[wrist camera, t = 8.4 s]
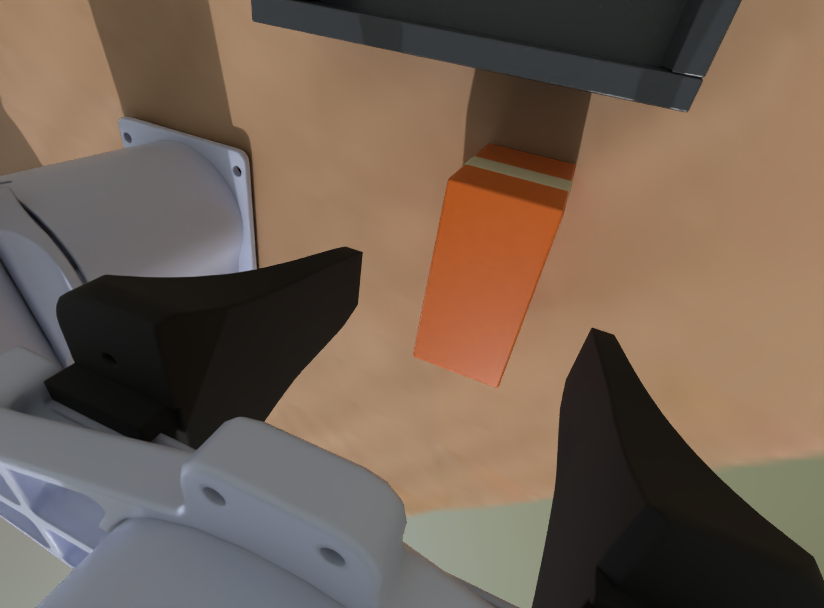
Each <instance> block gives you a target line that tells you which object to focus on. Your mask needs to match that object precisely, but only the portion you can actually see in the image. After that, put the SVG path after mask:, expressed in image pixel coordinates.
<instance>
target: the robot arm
mask: <svg viewBox="0 0 824 608" xmlns="http://www.w3.org/2000/svg"><path fill="white" fill-rule="evenodd" d="M119 128H120V133H121V137H122V141H123V146H124V148H123V149H119V150H114V151H110V152H106V153H101V154H97V155H92V156H88V157H83V158H79V159H74V160H70V161H65V162H61V163H56V164H52V165H47V166H43V167H38V168H34V169H29V170H25V171H20V172H16V173H11V174H7V175H2V176H0V517H1V518H3V519H4V520H6V521H7V522H9V523H10V524H11V525H13V526H14V527H16V528H17V529H18V530H20V531H21V532H23V533H25V534H26V535H27V536H28V537H30V538H31V539H33V540H34V541H35V542H37V543H38V544H39V545H41V546H42V547H43V548H45V549H46V550H48V551H49V552H50V553H52V554H53V555H55V556H56V557H57V558H59V559H60V560H62V561H63V562H64V563H66V564H67V565H69V566H70V567H71V568H72V569H74V570H73V571H72V572H71V573H70V574H69V575H68V576H67V577H66V578H65V579H64V580H63V581H62V582H61V583H60V584H59V585H58V586H57V587H56V588H55V589H54V590H53V591H52V592H51V593H50V594H49V595H48V596H47V597H46V598H45V599H44V600H43V601H42V602H41V603H40V604H39V605H38V606H37V607H36V608H519V607H517V606H514V605H513V604H510V603H508V602H506V601H504V600H502V599H500V598H498V597H496V596H494V595H492V594H490V593H488V592H486V591H484V590H482V589H480V588H478V587H476V586H474V585H471V584H470V583H467V582H465V581H463V580H461V579H459V578H457V577H455V576H453V575H451V574H449V573H447V572H445V571H443V570H442V569H440V568H439V567H438V566H436V565H435V564H434V563H432V562H431V561H429V560H428V559H427V558H425V557H424V556H422V555H421V554H419V553H418V552H417V551H415V550H414V549H413V548H411V547H410V546H408V545H407V544H406V543H404V542H403V541H402V539H403V534H404V530H405V526H406V523H407V521H406V515H405V509H404V504H403V502H402V500H401V498H400V497H399V496H398V495H397V494H396V492H395V491H394V490H393V489H392V487H391V486H390V485H389V484H388V482H387V481H385V480H384V479H382V478H381V477H379V476H377V475H376V474H374V473H373V472H371V471H370V470H368V469H367V468H365V467H363V466H361V465H358V464H356V463H354V462H352V461H349V460H347V459H345V458H343V457H341V456H338V455H336V454H334V453H332V452H330V451H327V450H325V449H323V448H321V447H318V446H316V445H314V444H312V443H310V442H307V441H305V440H303V439H301V438H299V437H296V436H294V435H292V434H290V433H287V432H285V431H283V430H281V429H279V428H276V427H274V426H272V425H270V424H267V423H265V422H264V421H265V420H266V418H267V417H268V416H269V414H270V413H271V411H272V410H273V408H274V407H275V405H276V404H277V403H278V401H279V400H280V399H281V397H282V396H283V394H284V393H285V392H286V390H287V389H288V388H289V386H290V385H291V384H292V382H293V381H294V380H295V379H296V377H297V376H298V375H299V374H300V373H301V371H302V370H303V369H304V368H305V367H306V366H307V365H308V364H309V363H310V362H311V361H312V360H313V359H314V357H315V356H316V355H317V354H318V353H319V352H320V351H321V350H322V349H323V348H324V347H325V346H326V345H327V344H328V342H329V341H330V340H331V339H332V338H333V337H334V336H335V335H336V334H337V333H338V332H339V330H340V329H341V328H342V327H343V326H344V324H345V323H346V321H347V320H348V319H349V317H350V316H351V314H352V313H353V311H354V310H355V308H356V306H357V305H358V297H359V286H360V276H361V265H362V254H363V252H360V251H357V250H354V249H351V248H348V247H341V248H336V249H333V250H329V251H325V252H322V253H318V254H315V255H311V256H308V257H304V258H301V259H297V260H294V261H290V262H286V263H282V264H277V265H273V266H269V267H265V268H260V269H257V264H256V250H255V236H254V221H253V207H252V192H251V178H250V164H249V158H248V156H247V154H246V153H245V152H244V151H243V150H241V149H238V148H235V147H231V146H228V145H224V144H221V143H217V142H214V141H211V140H207V139H204V138H200V137H197V136H194V135H190V134H187V133H183V132H180V131H176V130H173V129H170V128H166V127H163V126H159V125H156V124H153V123H149V122H146V121H142V120H139V119H135V118H132V117H121V118H120V119H119ZM238 167H239V168H240V169H241V173H240V172H239V170H238ZM532 608H824V580H823V577H822V575H821V573H820V570H819V568H818V565H817V563H816V561H815V559H814V557H813V556H811V555H810V554H809V553H808V552H806V551H805V550H804V549H803V548H802V547H800V546H799V545H798V544H796V543H795V542H794V541H793V540H791V539H790V538H788V536H786V535H785V534H784V533H783V532H781V531H780V530H779V529H777V528H776V527H775V526H774V525H772V524H771V523H770V522H769V521H767V520H766V519H765V518H764V517H762V516H761V515H760V514H759V513H758V512H757V511H755V510H754V509H753V508H752V507H751V506H750V505H749V504H747V503H746V502H745V501H744V500H743V499H742V498H741V497H740V496H738V495H737V494H736V493H735V492H734V491H733V490H732V489H731V488H730V487H729V486H728V485H727V484H726V483H724V482H723V481H722V480H721V479H720V478H719V477H718V476H717V475H716V474H715V473H714V472H713V471H712V470H711V469H710V468H709V467H708V466H707V465H706V464H705V463H704V462H703V461H702V460H701V458H700V457H699V456H698V455H697V454H696V453H695V452H694V451H693V450H692V449H691V448H690V447H689V446H688V444H687V443H686V442H685V441H684V440H683V438H682V437H681V436H680V435H679V434H678V432H677V431H676V430H675V429H674V428H673V426H672V425H671V424H670V423H669V421H668V420H667V419H666V418H665V416H664V415H663V414H662V412H661V411H660V409H659V408H658V407H657V405H656V404H655V402H654V401H653V399H652V398H651V397H650V395H649V394H648V392H647V390H646V389H645V387H644V386H643V384H642V383H641V381H640V379H639V378H638V376H637V374H636V373H635V371H634V369H633V368H632V366H631V364H630V362H629V361H628V359H627V357H626V355H625V353H624V352H623V350H622V348H621V346H620V344H619V342H618V341H617V339H616V337H615V336H614V335H613V334H610V333H607V332H604V331H601V330H598V329H595V328H591V330H590V332H589V334H588V336H587V338H586V340H585V342H584V344H583V346H582V348H581V350H580V352H579V354H578V356H577V358H576V360H575V362H574V364H573V366H572V368H571V370H570V373H569V375H568V377H567V379H566V382H565V387H564V391H563V396H562V401H561V407H560V418H559V435H558V453H557V471H556V482H555V491H554V497H553V503H552V508H551V515H550V520H549V526H548V531H547V536H546V542H545V547H544V552H543V557H542V562H541V567H540V572H539V576H538V581H537V586H536V591H535V596H534V601H533V605H532Z"/></svg>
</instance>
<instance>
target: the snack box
mask: <svg viewBox="0 0 824 608" xmlns="http://www.w3.org/2000/svg"><path fill="white" fill-rule="evenodd" d="M575 168H576V165H574V164H571V163H567V162H563V161H559V160H555V159H551V158H547V157H543V156H539V155H535V154H531V153H527V152H523V151H519V150H515V149H511V148H507V147H502V146H498V145H494V144H488V145H487V146H486V147H485V148H484V149H482V150H481V151H480V152H479V153H478V154H477V155H475V156H473V157H471V158H470V159H469V160H468V161H467V162H466V163H465V164H464V166H463V167H462V168H460V169H459V170H458V171H457V172H456V173H455V174H454V175H452V176H451V177H450V178H449V179H448V182H447V187H446V192H445V197H444V202H443V207H442V212H441V217H440V222H439V227H438V232H437V237H436V242H435V247H434V252H433V257H432V262H431V267H430V272H429V277H428V282H427V287H426V292H425V297H424V302H423V307H422V312H421V317H420V322H419V327H418V332H417V337H416V342H415V347H414V352H413V356H414V357H417V358H419V359H422V360H425V361H427V362H430V363H433V364H435V365H438V366H440V367H443V368H446V369H448V370H451V371H454V372H456V373H459V374H461V375H464V376H467V377H469V378H472V379H475V380H477V381H480V382H482V383H485V384H488V385H490V386H493V387H496V388H497V387H498V386H499V384H500V382H501V379H502V376H503V374H504V371H505V368H506V366H507V363H508V360H509V358H510V355H511V352H512V350H513V347H514V344H515V342H516V339H517V336H518V334H519V331H520V328H521V326H522V323H523V320H524V318H525V315H526V312H527V310H528V307H529V304H530V302H531V299H532V296H533V294H534V291H535V288H536V286H537V283H538V280H539V278H540V275H541V272H542V270H543V267H544V264H545V262H546V259H547V256H548V254H549V251H550V248H551V246H552V243H553V240H554V238H555V235H556V232H557V230H558V227H559V224H560V222H561V219H562V216H563V214H564V210H565V206H566V203H567V199H568V196H569V194H570V190H571V186H572V179H573V176H574V172H575Z"/></svg>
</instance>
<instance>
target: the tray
mask: <svg viewBox="0 0 824 608" xmlns="http://www.w3.org/2000/svg"><path fill="white" fill-rule="evenodd" d="M741 1H742V0H251V5H252V20H253V21H254V22H258V23H263V24H268V25H272V26H277V27H282V28H287V29H291V30H296V31H301V32H306V33H310V34H315V35H320V36H325V37H329V38H334V39H339V40H344V41H348V42H353V43H358V44H363V45H368V46H372V47H377V48H382V49H387V50H391V51H396V52H401V53H406V54H410V55H415V56H420V57H425V58H429V59H434V60H439V61H444V62H448V63H453V64H458V65H463V66H467V67H472V68H477V69H482V70H486V71H491V72H496V73H501V74H505V75H510V76H515V77H520V78H524V79H529V80H534V81H539V82H544V83H548V84H553V85H558V86H563V87H567V88H572V89H577V90H582V91H586V92H591V93H596V94H601V95H605V96H610V97H615V98H620V99H624V100H629V101H634V102H639V103H643V104H648V105H653V106H658V107H662V108H667V109H672V110H677V111H681V112H688V111H689V109H690V107H691V105H692V103H693V101H694V98H695V96H696V94H697V92H698V90H699V88H700V86H701V84H702V82H703V79H702V78H704V77H705V76H706V73H707V71H708V69H709V67H710V65H711V63H712V61H713V59H714V57H715V55H716V53H717V51H718V49H719V47H720V44H721V42H722V40H723V38H724V36H725V34H726V32H727V30H728V28H729V26H730V24H731V22H732V20H733V18H734V15H735V13H736V11H737V9H738V7H739V5H740V3H741Z"/></svg>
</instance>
